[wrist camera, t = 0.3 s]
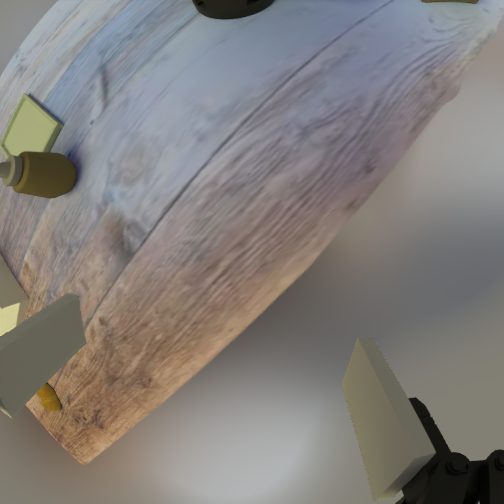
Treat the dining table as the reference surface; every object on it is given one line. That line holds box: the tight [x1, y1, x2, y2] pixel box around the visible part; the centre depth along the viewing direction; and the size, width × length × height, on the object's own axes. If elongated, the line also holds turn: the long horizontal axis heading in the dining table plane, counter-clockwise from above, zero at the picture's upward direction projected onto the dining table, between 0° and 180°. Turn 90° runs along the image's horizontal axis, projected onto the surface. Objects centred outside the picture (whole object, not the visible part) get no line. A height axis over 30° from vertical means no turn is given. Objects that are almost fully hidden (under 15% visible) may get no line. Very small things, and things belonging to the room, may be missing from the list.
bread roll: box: [37, 383, 61, 412], centre depth 47 cm, size 8×9×4 cm
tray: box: [0, 93, 63, 159], centre depth 40 cm, size 23×15×2 cm, turn 53°
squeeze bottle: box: [0, 151, 76, 198], centre depth 31 cm, size 8×8×18 cm
